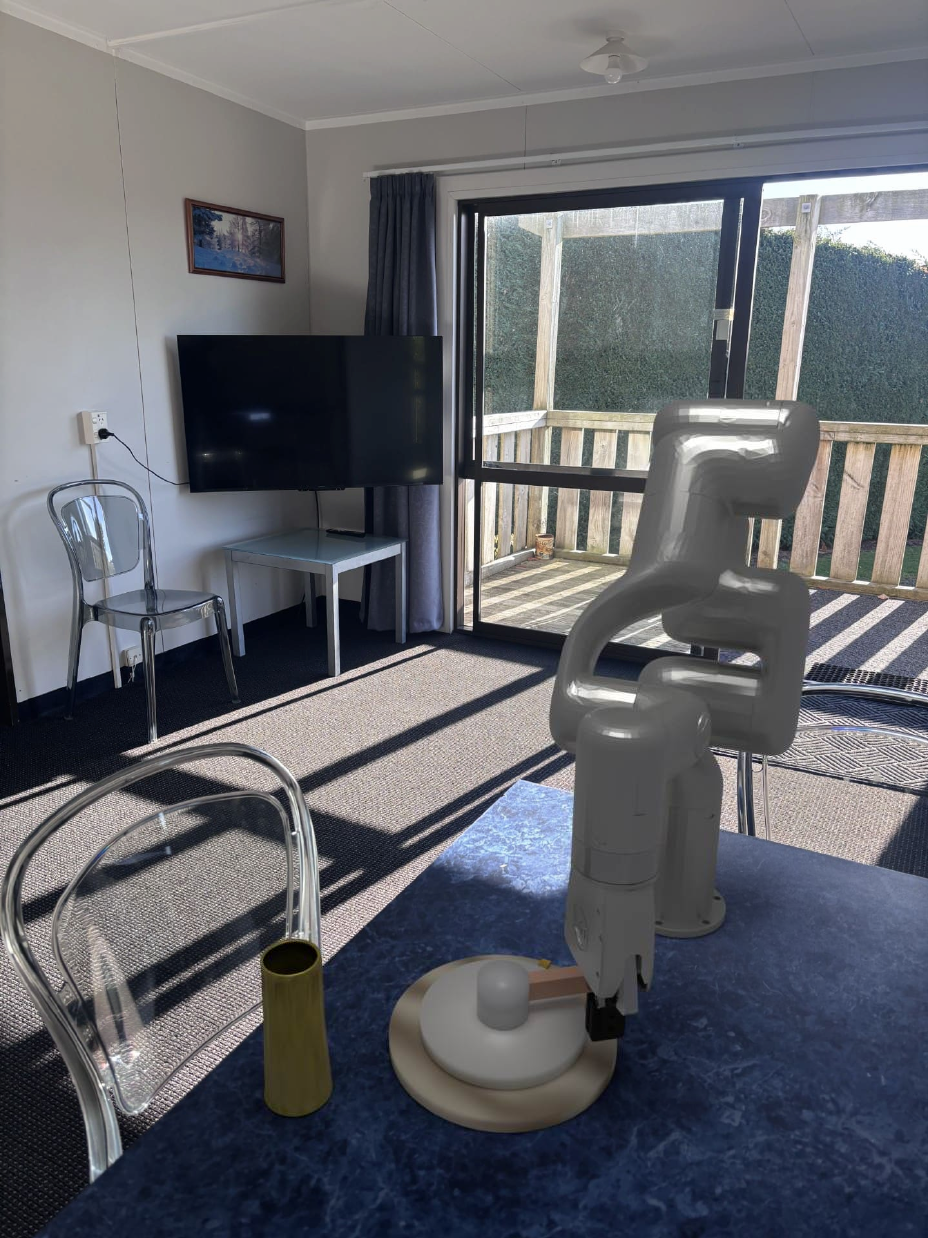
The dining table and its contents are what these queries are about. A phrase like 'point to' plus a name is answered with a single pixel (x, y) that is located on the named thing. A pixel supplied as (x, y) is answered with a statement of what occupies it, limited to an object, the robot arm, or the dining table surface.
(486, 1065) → the dial
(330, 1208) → the dining table surface
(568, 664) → the robot arm
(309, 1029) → the vase
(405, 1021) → the dial base
